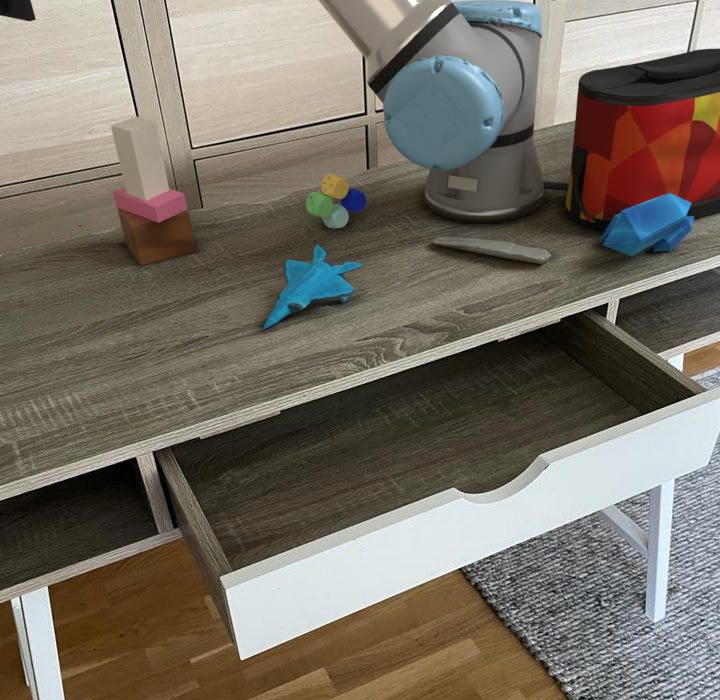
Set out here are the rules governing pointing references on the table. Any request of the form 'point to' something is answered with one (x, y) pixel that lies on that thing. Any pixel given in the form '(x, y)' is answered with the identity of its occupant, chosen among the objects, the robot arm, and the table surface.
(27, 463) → the table surface
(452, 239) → the stone tool
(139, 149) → the block on pink pedestal
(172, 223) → the wood block
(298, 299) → the toy airplane
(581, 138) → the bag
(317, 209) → the dice
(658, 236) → the crystal
